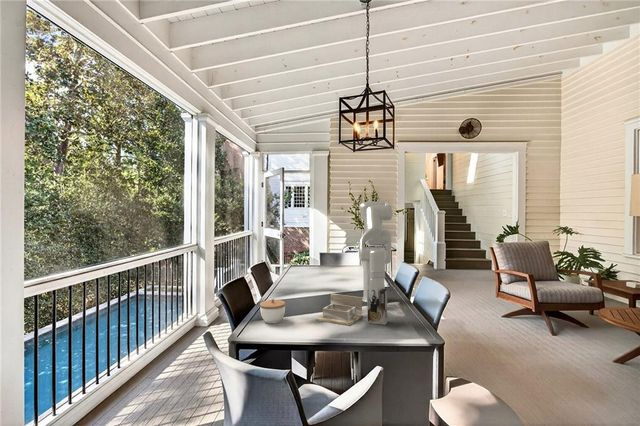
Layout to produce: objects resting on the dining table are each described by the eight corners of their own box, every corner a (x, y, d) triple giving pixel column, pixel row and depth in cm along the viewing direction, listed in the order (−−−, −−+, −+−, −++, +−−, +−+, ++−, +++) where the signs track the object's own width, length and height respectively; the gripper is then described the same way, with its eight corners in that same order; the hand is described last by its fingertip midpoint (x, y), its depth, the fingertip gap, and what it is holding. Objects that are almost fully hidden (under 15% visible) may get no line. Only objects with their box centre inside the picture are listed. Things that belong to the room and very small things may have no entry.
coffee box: (387, 321, 179) (387, 288, 179) (385, 325, 173) (385, 291, 173) (369, 319, 182) (369, 287, 182) (367, 323, 176) (366, 290, 176)
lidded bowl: (257, 319, 184) (257, 297, 184) (281, 316, 188) (281, 295, 188) (263, 326, 172) (263, 303, 172) (288, 323, 177) (288, 301, 176)
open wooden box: (331, 311, 195) (331, 293, 195) (362, 316, 186) (362, 297, 186) (316, 320, 181) (316, 300, 181) (348, 325, 172) (348, 305, 172)
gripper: (376, 271, 186) (376, 304, 187) (363, 277, 171) (363, 312, 172) (390, 272, 183) (390, 306, 183) (378, 278, 168) (378, 315, 168)
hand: (377, 309), depth 177 cm, fingers open, 9 cm apart
